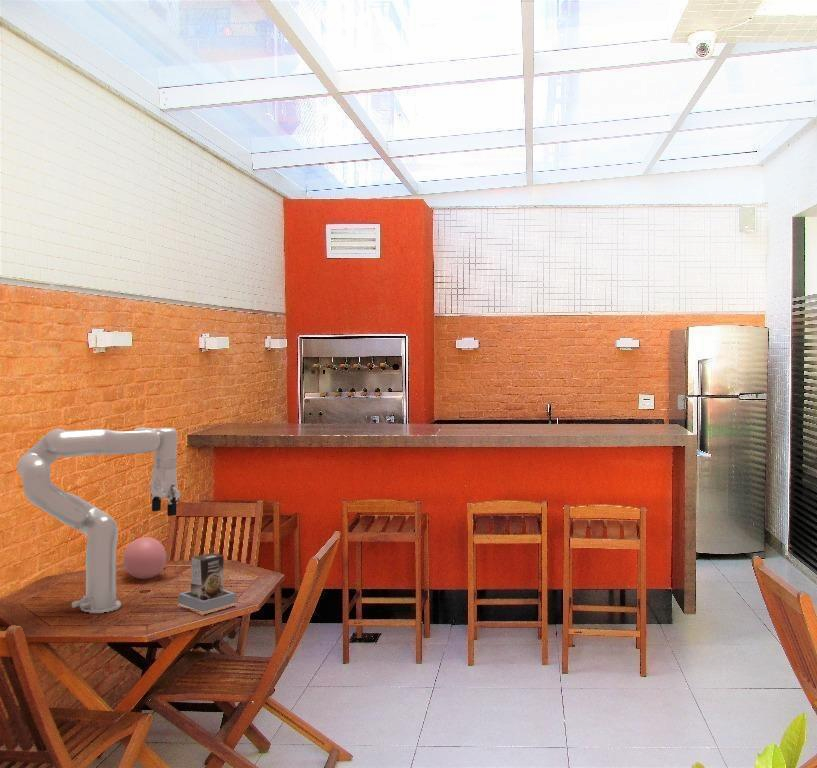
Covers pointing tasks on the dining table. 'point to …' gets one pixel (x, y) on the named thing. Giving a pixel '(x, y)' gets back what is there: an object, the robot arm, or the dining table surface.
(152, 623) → the dining table surface
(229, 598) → the holder
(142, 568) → the balloon
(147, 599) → the dining table surface
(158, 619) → the dining table surface
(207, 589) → the coffee box
